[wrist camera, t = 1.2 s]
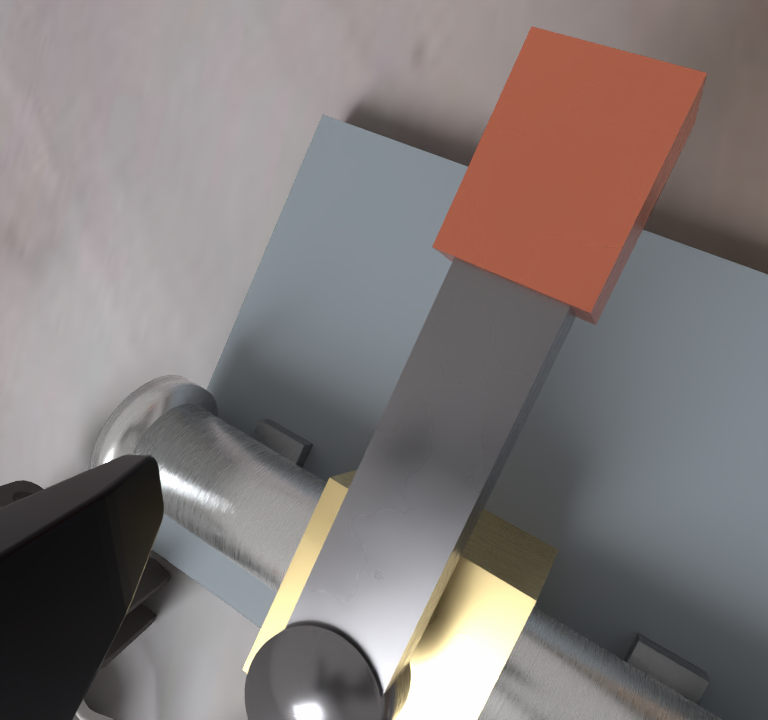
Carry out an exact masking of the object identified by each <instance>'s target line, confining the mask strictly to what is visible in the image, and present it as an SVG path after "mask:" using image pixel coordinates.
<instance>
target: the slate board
mask: <svg viewBox="0 0 768 720" xmlns="http://www.w3.org/2000/svg"><path fill="white" fill-rule="evenodd" d="M467 168H468V166H465V165H462V164H459V163H457V162H454V161H451V160H448V159H445V158H443V157H440V156H437V155H434V154H432V153H429V152H426V151H423V150H420V149H418V148H415V147H412V146H409V145H407V144H404V143H401V142H398V141H395V140H393V139H390V138H387V137H384V136H382V135H379V134H376V133H373V132H370V131H368V130H365V129H362V128H359V127H356V126H354V125H351V124H348V123H345V122H343V121H340V120H337V119H334V118H331V117H329V116H326V115H322V117H321V120H320V122H319V124H318V127H317V129H316V132H315V134H314V136H313V139H312V141H311V143H310V146H309V148H308V151H307V153H306V155H305V158H304V160H303V162H302V165H301V167H300V170H299V172H298V174H297V177H296V179H295V181H294V184H293V186H292V189H291V191H290V193H289V196H288V198H287V200H286V203H285V205H284V208H283V210H282V212H281V215H280V217H279V219H278V222H277V224H276V226H275V229H274V231H273V234H272V236H271V238H270V241H269V243H268V245H267V248H266V250H265V253H264V255H263V257H262V260H261V262H260V264H259V267H258V269H257V272H256V274H255V276H254V279H253V281H252V283H251V286H250V288H249V291H248V293H247V295H246V298H245V300H244V302H243V305H242V307H241V310H240V312H239V314H238V317H237V319H236V321H235V324H234V326H233V328H232V331H231V333H230V336H229V338H228V340H227V343H226V345H225V347H224V350H223V352H222V355H221V357H220V359H219V362H218V364H217V366H216V369H215V371H214V374H213V376H212V378H211V381H210V383H209V385H208V388H207V391H208V392H210V393H211V394H212V395H213V397H214V399H215V400H216V403H217V408H218V418H220V419H221V420H223V421H225V422H226V423H228V424H230V425H231V426H233V427H235V428H236V429H238V430H240V431H241V432H243V433H245V434H246V435H248V436H250V437H251V438H252V436H253V434H254V432H255V429H256V427H257V425H258V422H259V420H263V419H271V420H272V421H274V422H276V423H277V424H279V425H281V426H283V427H284V428H286V429H288V430H289V431H291V432H293V433H295V434H296V435H298V436H300V437H302V438H303V439H305V440H307V441H308V442H310V443H312V444H313V445H312V448H311V450H310V452H309V454H308V457H307V459H306V461H305V463H304V466H303V469H305V470H307V471H308V472H310V473H312V474H313V475H315V476H317V477H318V478H320V479H322V480H323V481H325V482H328V479H329V478H330V477H333V476H337V475H340V474H344V473H347V472H351V471H354V470H358V467H359V465H360V463H361V461H362V459H363V457H364V454H365V452H366V450H367V448H368V446H369V443H370V441H371V439H372V437H373V435H374V432H375V430H376V428H377V426H378V424H379V421H380V419H381V417H382V415H383V413H384V411H385V408H386V406H387V404H388V402H389V400H390V397H391V395H392V393H393V391H394V389H395V386H396V384H397V382H398V380H399V378H400V375H401V373H402V371H403V369H404V367H405V365H406V362H407V360H408V358H409V356H410V354H411V351H412V349H413V347H414V345H415V343H416V340H417V338H418V336H419V334H420V332H421V329H422V327H423V325H424V323H425V321H426V319H427V316H428V314H429V312H430V310H431V308H432V305H433V303H434V301H435V299H436V297H437V294H438V292H439V290H440V288H441V286H442V283H443V281H444V279H445V277H446V275H447V273H448V270H449V268H450V266H451V264H452V262H451V261H450V260H449V259H447V258H446V257H445V256H443V255H442V254H441V253H439V252H438V251H437V250H435V249H434V248H433V247H432V246H433V244H434V242H435V239H436V237H437V235H438V233H439V230H440V228H441V226H442V224H443V222H444V219H445V217H446V215H447V213H448V211H449V208H450V206H451V204H452V202H453V199H454V197H455V195H456V193H457V191H458V188H459V186H460V184H461V182H462V180H463V177H464V175H465V173H466V171H467ZM484 509H486V510H487V511H489V512H491V513H493V514H495V515H496V516H498V517H500V518H502V519H504V520H505V521H507V522H509V523H511V524H512V525H514V526H516V527H518V528H520V529H521V530H523V531H525V532H527V533H529V534H530V535H532V536H534V537H536V538H538V539H539V540H541V541H543V542H545V543H547V544H548V545H550V546H552V547H554V548H555V549H557V550H559V551H558V553H557V555H556V557H555V560H554V562H553V564H552V567H551V569H550V571H549V574H548V576H547V578H546V581H545V583H544V585H543V588H542V590H541V592H540V594H539V597H538V599H537V601H536V603H535V605H534V607H535V608H537V609H539V610H540V611H542V612H544V613H545V614H547V615H549V616H550V617H552V618H554V619H555V620H557V621H559V622H560V623H562V624H564V625H565V626H567V627H569V628H570V629H572V630H574V631H575V632H577V633H579V634H580V635H582V636H584V637H585V638H587V639H589V640H590V641H592V642H594V643H595V644H597V645H599V646H600V647H602V648H604V649H605V650H607V651H609V652H610V653H612V654H614V655H615V656H617V657H619V658H620V659H622V660H624V659H625V657H626V655H627V653H628V651H629V649H630V647H631V645H632V643H633V642H634V640H635V638H636V636H637V634H638V633H640V634H642V635H643V636H645V637H647V638H649V639H650V640H652V641H654V642H656V643H657V644H659V645H661V646H662V647H664V648H666V649H668V650H669V651H671V652H673V653H674V654H676V655H678V656H680V657H681V658H683V659H685V660H687V661H688V662H690V663H692V664H693V665H695V666H697V667H699V668H700V669H702V670H704V671H706V672H707V675H708V679H709V684H708V686H707V688H706V690H705V691H704V693H703V695H702V697H701V699H700V701H699V702H698V704H697V705H699V706H700V707H702V708H704V709H705V710H707V711H709V712H710V713H712V714H714V715H715V716H717V717H719V718H720V719H722V720H768V274H765V273H762V272H760V271H757V270H754V269H751V268H749V267H746V266H743V265H740V264H737V263H735V262H732V261H729V260H726V259H724V258H721V257H718V256H715V255H712V254H710V253H707V252H704V251H701V250H698V249H696V248H693V247H690V246H687V245H685V244H682V243H679V242H676V241H673V240H671V239H668V238H665V237H662V236H660V235H657V234H654V233H651V232H648V231H646V230H642V232H641V234H640V236H639V239H638V241H637V243H636V245H635V247H634V249H633V251H632V253H631V255H630V257H629V259H628V261H627V263H626V265H625V267H624V269H623V271H622V273H621V275H620V277H619V279H618V282H617V284H616V286H615V288H614V290H613V292H612V294H611V296H610V298H609V300H608V302H607V304H606V306H605V308H604V310H603V312H602V314H601V316H600V318H599V320H598V322H597V325H594V324H592V323H589V322H587V321H585V320H582V319H580V318H577V317H576V319H575V321H574V323H573V325H572V327H571V329H570V331H569V333H568V335H567V337H566V339H565V341H564V344H563V346H562V348H561V350H560V352H559V354H558V356H557V358H556V360H555V362H554V364H553V366H552V368H551V370H550V372H549V375H548V377H547V379H546V381H545V383H544V385H543V387H542V389H541V391H540V393H539V395H538V397H537V399H536V401H535V403H534V406H533V408H532V410H531V412H530V414H529V416H528V418H527V420H526V422H525V424H524V426H523V428H522V430H521V432H520V434H519V437H518V439H517V441H516V443H515V445H514V447H513V449H512V451H511V453H510V455H509V457H508V459H507V461H506V463H505V465H504V468H503V470H502V472H501V474H500V476H499V478H498V480H497V482H496V484H495V486H494V488H493V490H492V492H491V494H490V496H489V498H488V501H487V503H486V505H485V507H484ZM152 550H153V551H155V552H156V553H158V554H159V555H160V556H162V557H163V558H164V559H166V560H167V561H169V562H170V563H171V564H173V565H174V566H175V567H177V568H178V569H180V570H181V571H182V572H184V573H185V574H187V575H188V576H189V577H191V578H192V579H193V580H195V581H196V582H198V583H199V584H200V585H202V586H203V587H204V588H206V589H207V590H209V591H210V592H211V593H213V594H214V595H215V596H217V597H218V598H220V599H221V600H222V601H224V602H225V603H226V604H228V605H229V606H231V607H232V608H233V609H235V610H236V611H238V612H239V613H240V614H242V615H243V616H244V617H246V618H247V619H249V620H250V621H251V622H253V623H254V624H255V625H257V626H258V627H260V628H262V625H263V623H264V621H265V619H266V617H267V614H268V612H269V610H270V608H271V606H272V603H273V601H274V599H275V597H276V595H277V592H276V591H274V590H273V589H271V588H270V587H269V586H267V585H266V584H264V583H263V582H261V581H260V580H258V579H257V578H256V577H254V576H253V575H251V574H250V573H248V572H247V571H245V570H244V569H243V568H241V567H240V566H238V565H237V564H235V563H234V562H232V561H231V560H230V559H228V558H227V557H225V556H224V555H222V554H221V553H219V552H218V551H217V550H215V549H214V548H212V547H211V546H209V545H208V544H207V543H205V542H204V541H202V540H201V539H199V538H198V537H196V536H195V535H194V534H192V533H191V532H189V531H188V530H186V529H185V528H183V527H182V526H181V525H179V524H178V523H176V522H175V521H173V520H172V519H170V518H169V517H168V516H166V515H165V514H164V515H163V520H162V523H161V526H160V528H159V531H158V534H157V536H156V539H155V542H154V544H153V547H152Z"/></svg>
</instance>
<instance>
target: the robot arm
mask: <svg viewBox="0 0 768 720" xmlns="http://www.w3.org/2000/svg"><path fill="white" fill-rule="evenodd" d="M163 515H164V501H163V494H162V488H161V481H160V474H159V467H158V463H157V461H156V459H155V458H154V457H153V456H151V455H138V454H126V455H122V456H120V457H118V458H115V459H113V460H111V461H108V462H106V463H104V464H102V465H99V466H97V467H95V468H92V469H90V470H88V471H85V472H83V473H81V474H78V475H76V476H74V477H72V478H69V479H67V480H65V481H62V482H60V483H58V484H55V485H53V486H51V487H48V488H46V489H44V490H42V491H39V492H37V493H35V494H32V495H30V496H28V497H25V498H23V499H21V500H18V501H16V502H14V503H12V504H9V505H7V506H5V507H2V508H0V720H73V718H74V716H75V714H76V712H77V710H78V708H79V706H80V704H81V703H82V701H83V699H84V697H85V695H86V693H87V691H88V689H89V687H90V685H91V683H92V681H93V679H94V677H95V675H96V673H97V671H98V669H99V667H100V666H101V664H102V662H103V660H104V658H105V656H106V654H107V652H108V650H109V648H110V646H111V644H112V642H113V640H114V638H115V636H116V634H117V632H118V631H119V628H120V626H121V624H122V622H123V620H124V618H125V616H126V614H127V612H128V609H129V607H130V604H131V602H132V600H133V597H134V594H135V592H136V589H137V586H138V584H139V581H140V579H141V576H142V573H143V571H144V568H145V565H146V563H147V560H148V557H149V555H150V552H151V550H152V547H153V544H154V542H155V539H156V536H157V534H158V531H159V528H160V526H161V523H162V520H163Z"/></svg>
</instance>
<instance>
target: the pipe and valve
mask: <svg viewBox="0 0 768 720" xmlns="http://www.w3.org/2000/svg"><path fill="white" fill-rule="evenodd" d="M312 445H313V444H312V443H310V442H308V441H307V440H305V439H303V438H302V437H300V436H298V435H296V434H295V433H293V432H291V431H289V430H288V429H286V428H284V427H283V426H281V425H279V424H277V423H276V422H274V421H272V420H271V419H263V420H259V422H258V425H257V427H256V429H255V432H254V434H253V436H252V438H251V437H250V436H248V435H246V434H245V433H243V432H241V431H240V430H238V429H236V428H235V427H233V426H231V425H230V424H228V423H226V422H225V421H223V420H221V419H220V418H218V408H217V403H216V400H215V399H214V397H213V395H212V394H211V393H210V392H208V391H207V390H205V389H203V388H202V387H200V386H198V385H196V384H195V383H193V382H191V381H190V380H188V379H186V378H184V377H182V376H177V375H168V376H163V377H159V378H156V379H154V380H152V381H150V382H148V383H146V384H144V385H143V386H141V387H139V388H138V389H137V390H135V391H134V392H133V393H131V394H130V395H129V396H128V397H127V398H126V399H125V400H124V401H123V402H122V403H121V404H120V405H119V406H118V407H117V408H116V410H115V411H114V412H113V413H112V415H111V416H110V417H109V419H108V420H107V422H106V423H105V425H104V427H103V428H102V430H101V432H100V434H99V436H98V438H97V441H96V443H95V446H94V449H93V452H92V457H91V463H90V469H92V468H95V467H97V466H99V465H102V464H104V463H106V462H108V461H111V460H113V459H115V458H118V457H120V456H122V455H126V454H138V455H151V456H153V457H154V458H155V459H156V461H157V463H158V467H159V474H160V481H161V488H162V494H163V501H164V514H165V515H166V516H168V517H169V518H170V519H172V520H173V521H175V522H176V523H178V524H179V525H181V526H182V527H183V528H185V529H186V530H188V531H189V532H191V533H192V534H194V535H195V536H196V537H198V538H199V539H201V540H202V541H204V542H205V543H207V544H208V545H209V546H211V547H212V548H214V549H215V550H217V551H218V552H219V553H221V554H222V555H224V556H225V557H227V558H228V559H230V560H231V561H232V562H234V563H235V564H237V565H238V566H240V567H241V568H243V569H244V570H245V571H247V572H248V573H250V574H251V575H253V576H254V577H256V578H257V579H258V580H260V581H261V582H263V583H264V584H266V585H267V586H269V587H270V588H271V589H273V590H274V591H276V592H277V595H276V597H275V599H274V601H273V603H272V606H271V608H270V610H269V612H268V614H267V617H266V619H265V621H264V623H263V625H262V628H261V630H260V632H259V634H258V637H257V639H256V641H255V643H254V645H253V648H252V650H251V652H250V654H249V656H248V659H247V661H246V663H245V665H244V668H243V670H244V671H245V672H246V673H248V670H249V667H250V664H251V662H252V660H253V658H254V656H255V654H256V653H257V652H258V650H259V649H260V648H261V647H262V646H263V644H264V643H265V642H266V641H268V640H269V639H271V638H272V637H273V636H275V635H276V634H278V633H279V632H280V631H282V630H283V629H285V627H286V625H287V623H288V621H289V619H290V616H291V614H292V612H293V610H294V608H295V605H296V603H297V601H298V599H299V597H300V595H301V592H302V590H303V588H304V586H305V584H306V581H307V579H308V577H309V575H310V573H311V570H312V568H313V566H314V564H315V562H316V559H317V557H318V555H319V553H320V551H321V549H322V546H323V544H324V542H325V540H326V538H327V535H328V533H329V531H330V529H331V527H332V524H333V522H334V520H335V518H336V516H337V513H338V511H339V509H340V507H341V505H342V503H343V500H344V498H345V496H346V494H347V492H348V489H349V487H350V485H351V483H352V481H353V478H354V476H355V474H356V472H357V470H354V471H351V472H347V473H344V474H340V475H337V476H333V477H330V478H329V479H328V482H325V481H323V480H322V479H320V478H318V477H317V476H315V475H313V474H312V473H310V472H308V471H307V470H305V469H303V466H304V463H305V461H306V459H307V457H308V454H309V452H310V450H311V448H312ZM558 551H559V550H557V549H555V548H554V547H552V546H550V545H548V544H547V543H545V542H543V541H541V540H539V539H538V538H536V537H534V536H532V535H530V534H529V533H527V532H525V531H523V530H521V529H520V528H518V527H516V526H514V525H512V524H511V523H509V522H507V521H505V520H504V519H502V518H500V517H498V516H496V515H495V514H493V513H491V512H489V511H487V510H486V509H483V511H482V513H481V515H480V517H479V519H478V521H477V523H476V525H475V527H474V529H473V532H472V534H471V536H470V538H469V540H468V542H467V544H466V546H465V548H464V550H463V552H462V554H461V556H460V558H459V560H458V563H457V565H456V567H455V569H454V571H453V573H452V575H451V577H450V579H449V581H448V583H447V585H446V587H445V589H444V591H443V594H442V596H441V598H440V600H439V602H438V604H437V606H436V608H435V610H434V612H433V614H432V616H431V618H430V620H429V622H428V625H427V627H426V629H425V631H424V633H423V635H422V637H421V639H420V641H419V643H418V645H417V647H416V649H415V651H414V653H413V655H412V658H411V660H410V666H411V686H410V692H409V696H408V699H407V701H406V704H405V706H404V708H403V709H402V711H401V713H400V714H399V716H398V717H397V718H396V720H722V719H720V718H719V717H717V716H715V715H714V714H712V713H710V712H709V711H707V710H705V709H704V708H702V707H700V706H699V705H697V704H698V702H699V701H700V699H701V697H702V695H703V693H704V691H705V690H706V688H707V686H708V684H709V679H708V675H707V672H706V671H704V670H702V669H700V668H699V667H697V666H695V665H693V664H692V663H690V662H688V661H687V660H685V659H683V658H681V657H680V656H678V655H676V654H674V653H673V652H671V651H669V650H668V649H666V648H664V647H662V646H661V645H659V644H657V643H656V642H654V641H652V640H650V639H649V638H647V637H645V636H643V635H642V634H640V633H638V634H637V636H636V638H635V640H634V642H633V643H632V645H631V647H630V649H629V651H628V653H627V655H626V657H625V659H624V660H622V659H620V658H619V657H617V656H615V655H614V654H612V653H610V652H609V651H607V650H605V649H604V648H602V647H600V646H599V645H597V644H595V643H594V642H592V641H590V640H589V639H587V638H585V637H584V636H582V635H580V634H579V633H577V632H575V631H574V630H572V629H570V628H569V627H567V626H565V625H564V624H562V623H560V622H559V621H557V620H555V619H554V618H552V617H550V616H549V615H547V614H545V613H544V612H542V611H540V610H539V609H537V608H535V607H534V605H535V603H536V601H537V599H538V597H539V594H540V592H541V590H542V588H543V585H544V583H545V581H546V578H547V576H548V574H549V571H550V569H551V567H552V564H553V562H554V560H555V557H556V555H557V553H558Z"/></svg>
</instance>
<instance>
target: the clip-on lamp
mask: <svg viewBox="0 0 768 720" xmlns="http://www.w3.org/2000/svg"><path fill="white" fill-rule="evenodd" d="M42 490H44V489H42V488H41V487H40V486H38V485H36V484H34V483H32V482H28V481H24V480H23V481H15V482H12V483H9V484H6V485H2V486H0V508H2V507H5V506H7V505H9V504H12V503H14V502H16V501H18V500H21V499H23V498H25V497H28V496H30V495H32V494H35V493H37V492H39V491H42ZM170 576H171V574H170V573H169V572H168V571H167V570H166V569H165V568H164V567H163V566H162V565H160V564H159V563H158V562H157V561H156V560H155V559H153V558H148V560H147V563H146V565H145V568H144V571H143V573H142V576H141V579H140V581H139V584H138V586H137V589H136V592H135V594H134V597H133V600H132V602H131V604H130V607H129V609H128V612H127V614H126V616H125V618H124V620H123V622H122V624H121V626H120V628H119V631H118V632H117V634H116V636H115V638H114V640H113V642H112V644H111V646H110V648H109V650H108V652H107V654H106V656H105V658H104V660H103V662H102V664H101V666H100V667H99V669H101V668H103V667H105V666H106V665H107V664H108V663H109V662H110V661H111V660H112V659H113V658H115V657H116V656H117V655H118V654H119V653H120V652H121V651H122V650H123V649H125V648H126V647H127V646H128V645H129V644H130V643H131V642H132V641H133V640H135V639H136V638H137V637H138V636H139V635H140V634H141V633H142V632H143V631H145V630H146V629H147V628H148V627H149V626H150V625H151V624H152V623H153V621H154V618H155V616H156V615H155V614H154V613H153V612H152V611H150V610H149V609H148V608H147V607H145V606H144V605H143V604H141V603H142V602H143V601H144V600H146V599H147V598H148V597H149V596H151V595H152V594H153V593H154V592H156V591H157V590H158V589H159V588H161V587H162V586H163V585H164V584H165V583H166V582H167V581H168V579H169V577H170ZM73 720H114V719H112V718H109V717H107V716H104V715H101V714H98V713H96V712H94V711H92V710H91V709H89V708H88V706H87V705H86V703H85V702H84V699H83V701H82V703H81V704H80V706H79V708H78V710H77V712H76V714H75V716H74V718H73Z"/></svg>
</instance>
